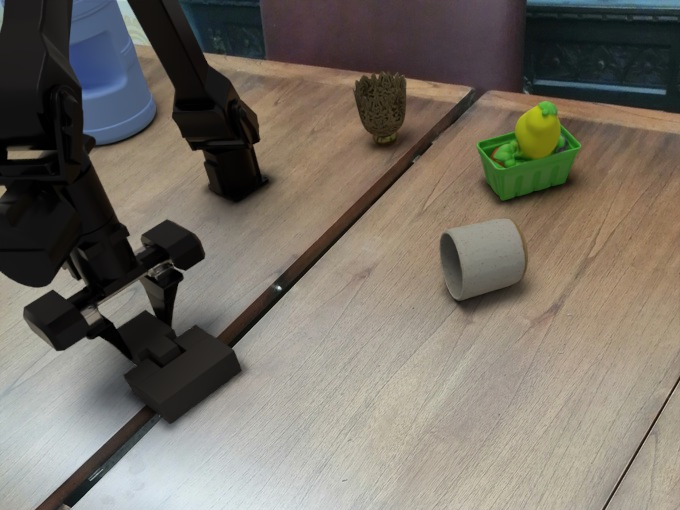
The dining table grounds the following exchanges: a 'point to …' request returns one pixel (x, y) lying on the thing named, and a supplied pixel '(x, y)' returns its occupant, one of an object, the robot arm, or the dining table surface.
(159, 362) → the black pad
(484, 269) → the ceramic mug
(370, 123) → the cup
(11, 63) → the robot arm
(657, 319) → the dining table surface
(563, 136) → the fruit basket
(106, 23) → the water jug
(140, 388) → the base pad
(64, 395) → the dining table surface
